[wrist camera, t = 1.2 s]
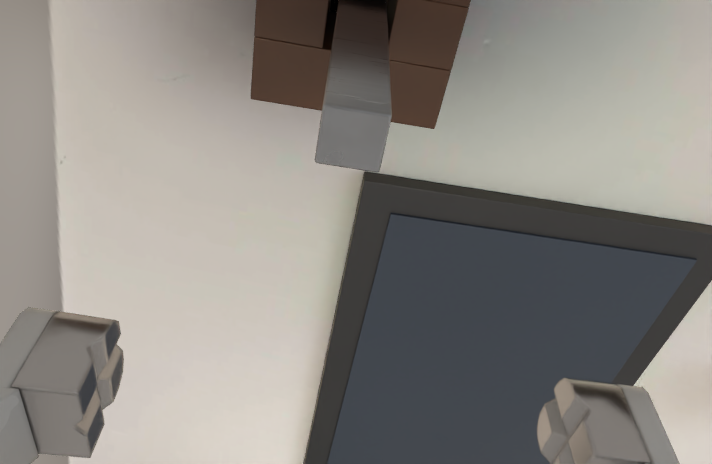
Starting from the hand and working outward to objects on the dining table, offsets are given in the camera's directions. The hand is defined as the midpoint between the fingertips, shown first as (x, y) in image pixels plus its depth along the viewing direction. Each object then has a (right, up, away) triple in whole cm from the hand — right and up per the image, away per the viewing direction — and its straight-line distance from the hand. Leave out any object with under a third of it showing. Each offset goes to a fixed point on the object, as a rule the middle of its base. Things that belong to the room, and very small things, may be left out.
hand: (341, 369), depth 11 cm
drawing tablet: (+9, -11, +38) cm, 41 cm away
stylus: (+1, +15, +18) cm, 23 cm away
